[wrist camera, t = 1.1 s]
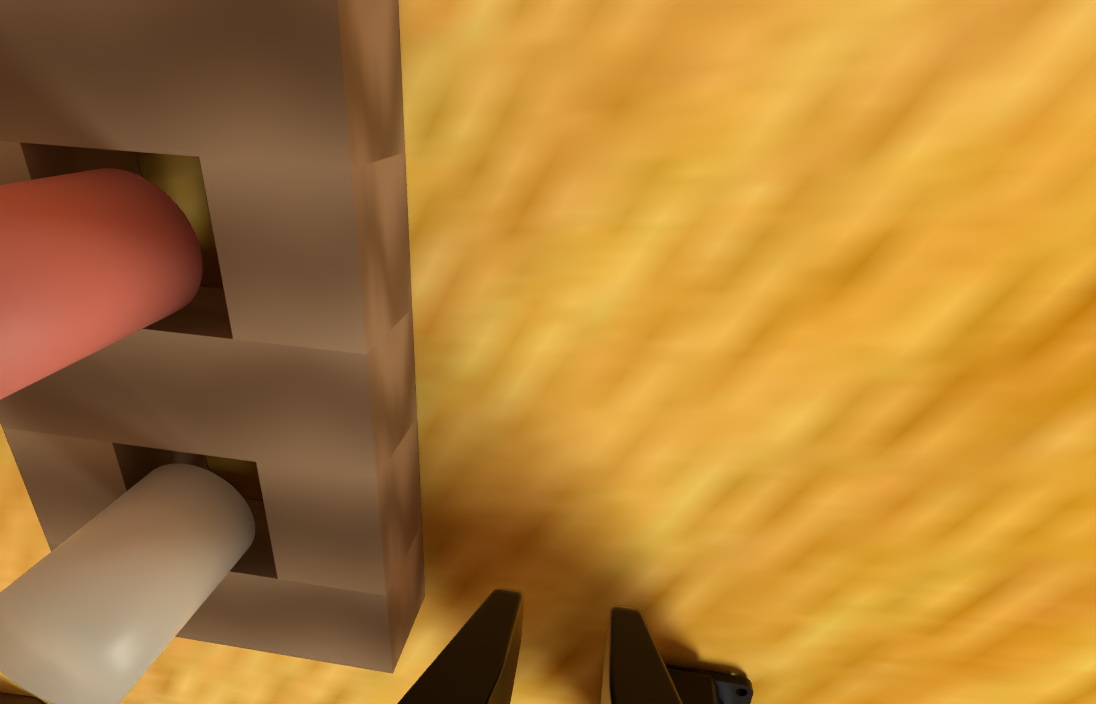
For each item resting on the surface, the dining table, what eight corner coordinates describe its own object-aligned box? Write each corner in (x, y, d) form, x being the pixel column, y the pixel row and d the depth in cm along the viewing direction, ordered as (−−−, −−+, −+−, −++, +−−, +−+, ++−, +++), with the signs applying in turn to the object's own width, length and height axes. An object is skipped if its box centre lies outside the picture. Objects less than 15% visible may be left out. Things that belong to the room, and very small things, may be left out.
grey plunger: (263, 567, 22) (144, 722, 17) (156, 550, 23) (6, 696, 17) (244, 471, 20) (103, 612, 15) (128, 456, 21) (-50, 586, 16)
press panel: (424, 595, 27) (392, 673, 24) (147, 553, 29) (78, 620, 25) (398, -1, 17) (335, -23, 14) (-27, -22, 19) (-186, -47, 15)
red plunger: (214, 322, 18) (35, 424, 13) (84, 308, 19) (-144, 401, 13) (185, 174, 16) (-41, 221, 11) (41, 162, 17) (-245, 201, 11)
